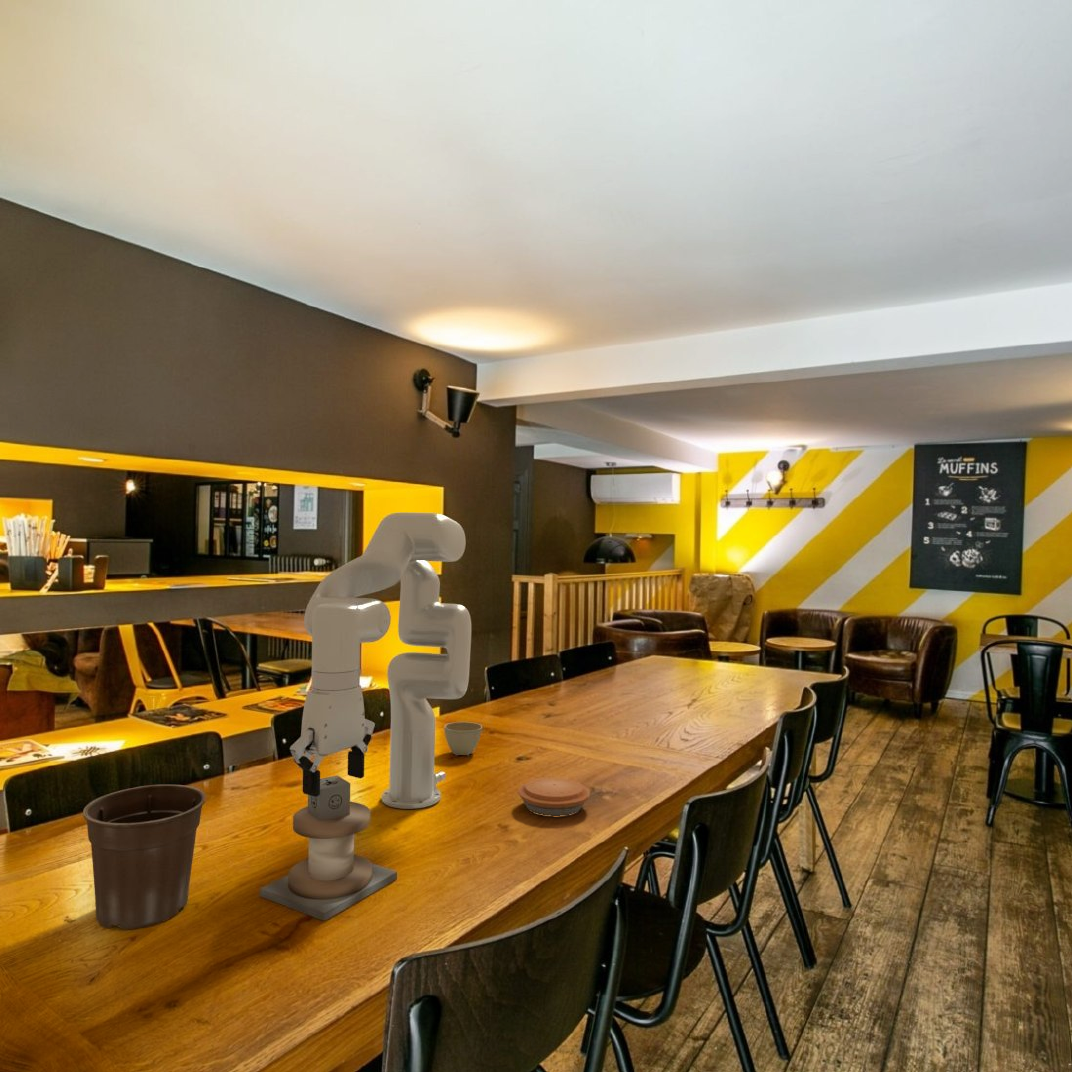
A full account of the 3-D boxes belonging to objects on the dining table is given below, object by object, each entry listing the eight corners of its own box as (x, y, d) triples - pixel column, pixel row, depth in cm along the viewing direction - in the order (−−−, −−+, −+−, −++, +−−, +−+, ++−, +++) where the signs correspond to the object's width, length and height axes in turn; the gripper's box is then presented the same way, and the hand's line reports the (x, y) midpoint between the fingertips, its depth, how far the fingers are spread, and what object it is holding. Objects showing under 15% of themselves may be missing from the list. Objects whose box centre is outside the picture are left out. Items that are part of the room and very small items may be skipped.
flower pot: (486, 757, 190) (487, 729, 190) (449, 760, 186) (449, 732, 186) (475, 746, 199) (475, 720, 199) (439, 749, 196) (440, 723, 196)
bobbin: (335, 858, 128) (337, 791, 128) (397, 878, 121) (398, 808, 121) (260, 896, 114) (261, 821, 114) (324, 921, 107) (326, 841, 107)
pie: (528, 824, 145) (528, 799, 145) (509, 798, 160) (510, 775, 160) (600, 818, 150) (601, 794, 150) (576, 793, 165) (576, 770, 165)
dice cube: (319, 821, 114) (320, 789, 114) (307, 811, 118) (308, 781, 118) (349, 814, 118) (350, 783, 118) (336, 805, 121) (337, 775, 122)
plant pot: (222, 909, 110) (224, 802, 110) (103, 953, 98) (106, 832, 98) (177, 874, 121) (179, 777, 121) (64, 910, 109) (67, 801, 109)
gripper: (356, 668, 127) (355, 766, 127) (276, 686, 112) (275, 797, 112) (389, 673, 123) (388, 774, 124) (311, 693, 108) (309, 807, 109)
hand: (334, 785), depth 118 cm, fingers open, 9 cm apart
